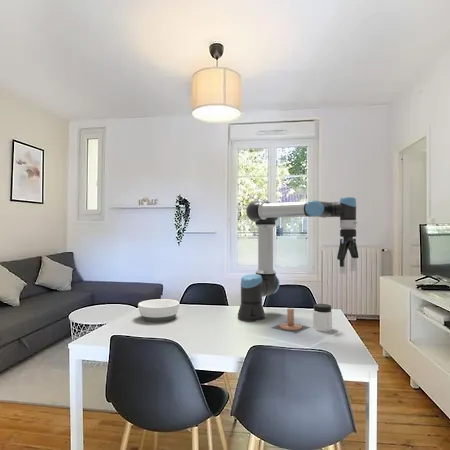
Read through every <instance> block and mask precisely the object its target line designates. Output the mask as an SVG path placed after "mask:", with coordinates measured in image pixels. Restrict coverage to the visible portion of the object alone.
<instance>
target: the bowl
mask: <svg viewBox="0 0 450 450" xmlns="http://www.w3.org/2000/svg"><path fill="white" fill-rule="evenodd" d="M137 307H138V308H137V309H138V311H139V315H140V316H141V317H142V320H143V321H145V322H150V323H162V322H169V321H172V320H174V319H175V317H176V315H177V314H178V312H179V308H180V302H179V301H178V300H176V299H170V298H169V299H167V298H158V299H148V300H142V301H140V302H138V304H137Z"/></svg>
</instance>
